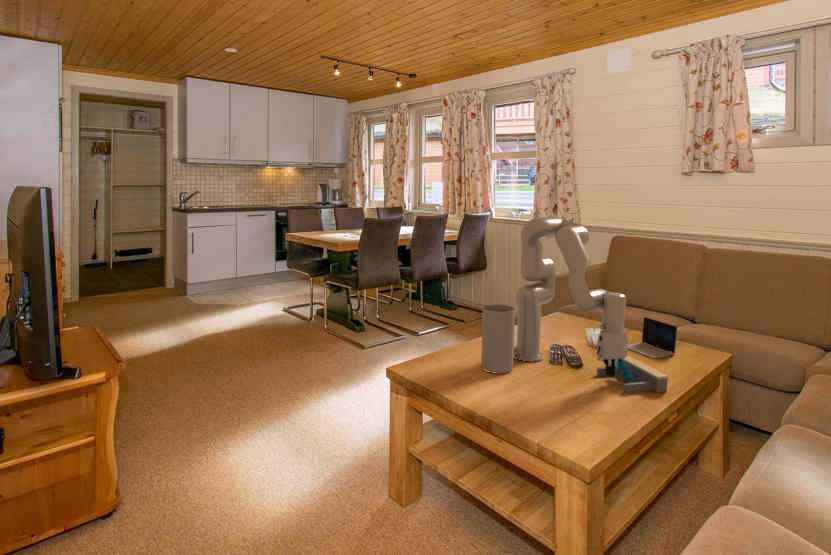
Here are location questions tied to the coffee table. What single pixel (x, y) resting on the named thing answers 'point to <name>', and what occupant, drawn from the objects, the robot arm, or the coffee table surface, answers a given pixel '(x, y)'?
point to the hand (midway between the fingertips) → (609, 375)
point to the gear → (623, 371)
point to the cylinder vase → (498, 338)
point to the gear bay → (641, 377)
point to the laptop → (656, 339)
